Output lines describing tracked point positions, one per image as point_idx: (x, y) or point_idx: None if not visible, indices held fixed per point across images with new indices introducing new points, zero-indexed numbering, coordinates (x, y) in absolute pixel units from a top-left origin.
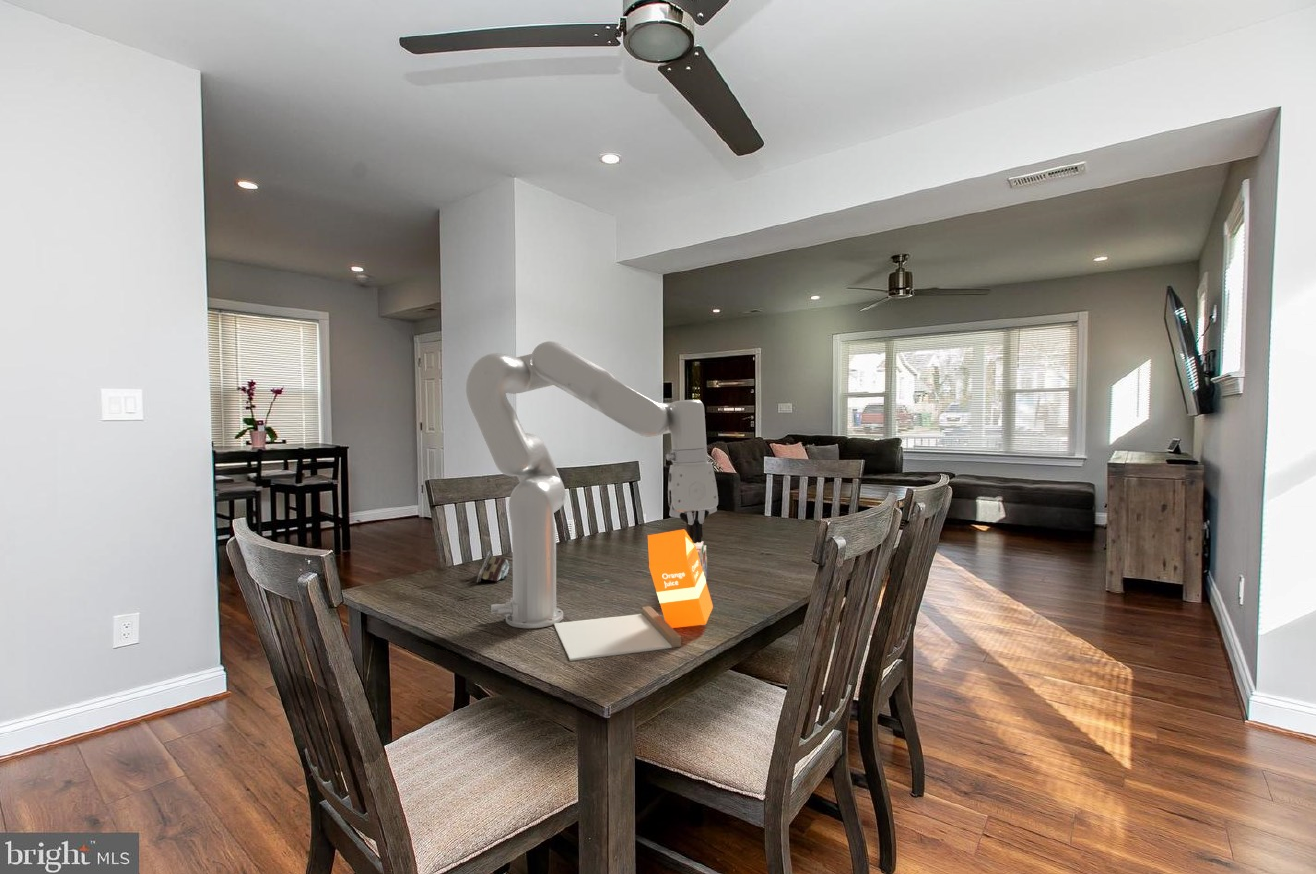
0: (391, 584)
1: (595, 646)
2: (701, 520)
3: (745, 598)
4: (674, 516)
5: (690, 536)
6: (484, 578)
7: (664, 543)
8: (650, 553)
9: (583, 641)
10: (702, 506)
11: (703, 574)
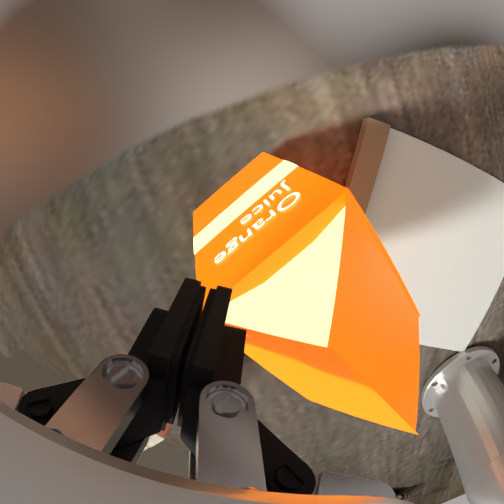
0: (452, 496)
1: (488, 220)
2: (117, 378)
3: (73, 283)
4: (368, 485)
5: (242, 334)
6: (400, 496)
7: (394, 356)
8: (417, 355)
9: (488, 253)
10: (43, 468)
11: (197, 246)
